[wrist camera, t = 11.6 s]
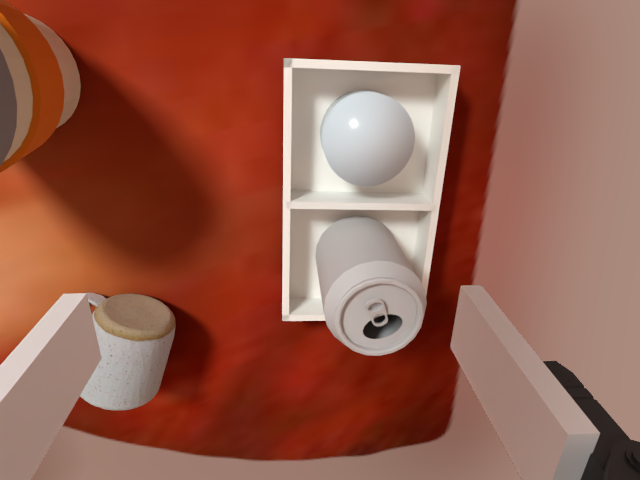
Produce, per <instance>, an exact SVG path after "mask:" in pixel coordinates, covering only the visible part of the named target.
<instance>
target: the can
mask: <svg viewBox="0 0 640 480" xmlns="http://www.w3.org/2000/svg"><path fill="white" fill-rule="evenodd" d="M315 259H316V265H317V272H318V278H319V285H320V292H321V298H322V305H323V311H324V316H325V320H326V324H327V326H328V328H329V329H330V331H331V332H332V334H333V335H334V337H336V338H337V339H338V340H340V341H341V342H342V343H343V344H345V345H346V346H347V347H349V348H350V349H351V350H353V351H355V352H358V353H361V354H364V355H373V356H381V355H385V354H390V353H393V352H395V351H397V350H399V349H401V348H403V347H405V346H406V345H407V344H408V343H409V342H411V341H412V340H413V339H414V338H415V336H416V335H417V333H418V332H419V330H420V328H421V326H422V322H423V318H424V314H425V309H426V305H427V301H426V293H425V289H424V287H423V285H422V283H421V281H420V280H419V278H418V276H417V274H416V273H415V271H414V269H413V268H412V266H411V265H410V263H409V261H408V260H407V258H406V256H405V255H404V253H403V251H402V250H401V248H400V246H399V245H398V243H397V242H396V240H395V238H394V237H393V235H392V233H391V232H390V230H389V229H388V228H387V227H386V226H385V225H384V224H383V223H381V222H380V221H378V220H376V219H373V218H371V217H368V216H357V215H355V216H350V217H346V218H342V219H340V220H338V221H337V222H335V223H333V224H331V225H330V226H329V227H328V228H327V229H326V230H325V231H324V232H323V233H322V235H321V237H320V239H319V241H318V243H317V246H316V255H315Z"/></svg>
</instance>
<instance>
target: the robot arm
mask: <svg viewBox="0 0 640 480" xmlns="http://www.w3.org/2000/svg"><path fill="white" fill-rule="evenodd" d="M450 348H451V350H452V351H453V353H454V355H455V357H456V359H457V361H458V363H459V364H460V366H461V368H462V370H463V372H464V374H465V376H466V377H467V379H468V381H469V383H470V385H471V387H472V388H473V390H474V392H475V394H476V396H477V398H478V400H479V401H480V403H481V405H482V407H483V409H484V411H485V413H486V414H487V416H488V418H489V420H490V422H491V424H492V426H493V427H494V429H495V431H496V433H497V435H498V437H499V439H500V440H501V442H502V444H503V446H504V448H505V450H506V452H507V454H508V455H509V457H510V459H511V461H512V463H513V464H514V467H515V468H516V470H517V472H518V474H519V476H520V478H521V479H522V480H640V442H637V441H634V440H630V439H629V437H628V436H627V435H626V434H625V433H624V431H623V430H622V429H621V428H620V427H619V426H618V425H617V423H616V422H615V421H614V420H613V419H612V418H611V417H610V415H609V414H608V413H607V412H606V411H605V410H604V408H603V407H602V406H601V405H600V404H599V403H598V402H597V400H594V399H593V396H592V395H591V393H590V392H589V391H588V390H587V389H586V388H584V386H583V384H582V383H581V382H580V381H579V380H578V379H577V377H576V376H575V375H574V374H573V373H572V372H571V371H569V370H568V369H567V368H565V367H564V366H562V365H561V364H559V363H558V362H556V361H544V362H543V361H542V360H541V359H540V358H539V356H538V355H537V354H536V353H535V352H534V350H533V349H532V348H531V346H530V345H529V344H528V343H527V341H526V340H525V339H524V338H523V336H521V334H520V333H519V332H518V331H517V329H516V328H515V327H514V325H513V324H512V323H511V322H510V320H509V319H508V318H507V317H506V315H505V314H504V313H503V312H502V310H501V309H500V308H499V307H498V305H497V304H496V303H495V302H494V300H493V299H492V298H491V297H490V295H489V294H488V293H487V292H486V290H485V289H484V288H483V287H482V285H465V286H461V287H460V293H459V299H458V305H457V310H456V316H455V322H454V328H453V333H452V339H451V345H450ZM101 358H102V357H101V352H100V348H99V344H98V339H97V335H96V331H95V327H94V322H93V318H92V314H91V310H90V305H89V301H88V297H87V293H78V294H63V295H62V296H61V297H60V298H59V299H58V301H57V302H56V303H55V304H54V305H53V306H52V307H51V308H50V310H49V311H48V312H47V313H46V314H45V315H44V316H43V318H42V319H41V320H40V321H39V322H38V323H37V324H36V325H35V327H34V328H33V329H32V330H31V331H30V332H29V333H28V335H27V336H26V337H25V338H24V339H23V340H22V341H21V342H20V344H19V345H18V346H17V347H16V348H15V349H14V350H13V352H12V353H11V354H10V355H9V356H8V357H7V358H6V359H5V361H4V362H3V363H2V364H1V365H0V480H31V479H32V477H33V475H34V474H35V472H36V470H37V468H38V467H39V465H40V463H41V462H42V460H43V458H44V456H45V455H46V453H47V451H48V450H49V448H50V446H51V444H52V443H53V441H54V439H55V437H56V436H57V434H58V432H59V431H60V429H61V427H62V425H63V424H64V422H65V420H66V419H67V417H68V415H69V413H70V412H71V410H72V408H73V407H74V405H75V403H76V401H77V400H78V398H79V396H80V395H81V393H82V391H83V389H84V388H85V386H86V384H87V382H88V381H89V379H90V377H91V376H92V374H93V372H94V370H95V369H96V367H97V365H98V364H99V362H100V360H101Z"/></svg>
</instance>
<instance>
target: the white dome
mask: <svg viewBox="0 0 640 480" xmlns="http://www.w3.org/2000/svg"><path fill="white" fill-rule="evenodd" d="M320 142H321V146H322V149H323V152H324V154H325V157H326V159H327V161H328V164H329V165H330V167H331V169H332V170H333V171H334V172H335V173H336V174H337V175H338V176H339V177H340V178H342V179H343V180H345V181H346V182H348V183H351V184H354V185H358V186H376V185H380V184H383V183H385V182H387V181H389V180H391V179H392V178H394V177H395V176H396V175H398V174H399V173H400V172H401V171H402V170H403V168H404V167H405V166H406V164H407V163H408V161H409V159H410V157H411V155H412V152H413V149H414V143H415V132H414V126H413V123H412V120H411V118H410V116H409V114H408V112H407V111H406V110H405V108H404V107H403V106H402V105H401V104H400V103H398V102H397V101H396V100H394V99H392V98H391V97H388V96H386V95H383V94H380V93H378V92H375V91H371V90H354V91H351V92H348V93H346V94H343V95H342V96H340V97H339V98H337V99H336V100H335V101H334V102H333V103H332V104H331V105H330V106H329V107H328V109H327V110H326V112H325V114H324V116H323V119H322V121H321V126H320Z"/></svg>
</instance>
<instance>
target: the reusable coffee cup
mask: <svg viewBox="0 0 640 480" xmlns="http://www.w3.org/2000/svg"><path fill="white" fill-rule="evenodd" d="M80 89H81V83H80V75H79V71H78V68H77V64H76V62H75V60H74V58H73V56H72V54H71V52H70V50H69V48H68V47H67V46H66V44H65V43H64V42H63V40H62V39H61V38H60V37H59V36H58V35H57V34H56V33H55V32H54V31H53V30H52V29H50V28H49V27H48V26H46V25H45V24H44V23H42V22H41V21H39V20H37V19H35V18H33V17H31V16H28V15H26V14H24V13H22V12H21V11H20V10H18V9H17V8H16V7H14V6H13V5H11V4H10V3H9V2H7V1H6V0H0V172H2V171H4V170H5V169H7V168H8V167H10V166H11V165H13V164H15V163H16V162H18V161H19V160H21V159H22V158H24V157H25V156H26V155H28V154H29V153H31V152H32V151H34V150H35V149H37V148H38V147H40V146H41V145H43V144H44V143H45V142H46V141H47V140H48V139H49V138H50V136H51V135H52V134H53V133H54V131H55V129H56V128H58V127H59V126H61V125H62V124H64V123H65V122H66V121H67V120H68V119H69V118H70V117H71V116H72V114H73V113H74V111H75V109H76V107H77V105H78V101H79V98H80Z"/></svg>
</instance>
